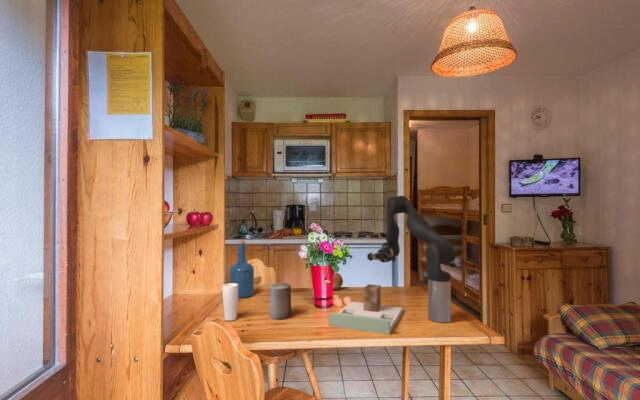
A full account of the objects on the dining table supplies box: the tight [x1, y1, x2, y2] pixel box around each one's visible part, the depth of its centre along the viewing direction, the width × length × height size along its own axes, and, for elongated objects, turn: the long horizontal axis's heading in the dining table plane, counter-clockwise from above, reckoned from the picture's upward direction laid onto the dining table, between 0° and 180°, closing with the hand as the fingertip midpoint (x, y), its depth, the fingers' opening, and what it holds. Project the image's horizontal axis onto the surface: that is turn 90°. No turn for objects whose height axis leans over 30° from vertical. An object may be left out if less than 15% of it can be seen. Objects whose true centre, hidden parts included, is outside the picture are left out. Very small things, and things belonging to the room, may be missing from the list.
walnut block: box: [363, 284, 382, 312], centre depth 157 cm, size 6×8×10 cm
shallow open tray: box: [328, 301, 404, 336], centre depth 149 cm, size 25×30×5 cm
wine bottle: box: [228, 240, 255, 299], centre depth 186 cm, size 14×13×30 cm
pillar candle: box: [268, 282, 292, 321], centre depth 153 cm, size 10×10×15 cm
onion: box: [333, 272, 344, 291], centre depth 199 cm, size 10×10×10 cm
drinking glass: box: [222, 282, 239, 322], centre depth 149 cm, size 7×7×15 cm
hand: (378, 259), depth 170 cm, fingers open, 8 cm apart
